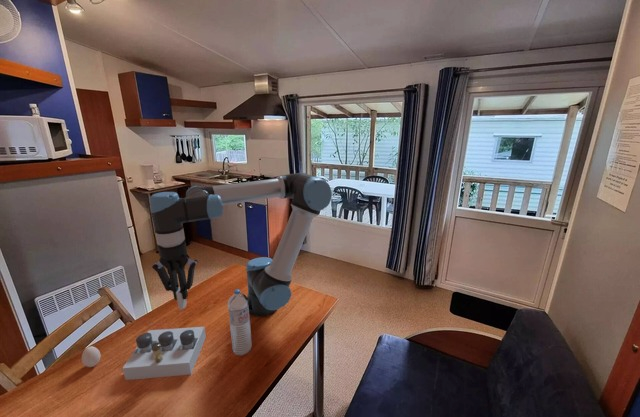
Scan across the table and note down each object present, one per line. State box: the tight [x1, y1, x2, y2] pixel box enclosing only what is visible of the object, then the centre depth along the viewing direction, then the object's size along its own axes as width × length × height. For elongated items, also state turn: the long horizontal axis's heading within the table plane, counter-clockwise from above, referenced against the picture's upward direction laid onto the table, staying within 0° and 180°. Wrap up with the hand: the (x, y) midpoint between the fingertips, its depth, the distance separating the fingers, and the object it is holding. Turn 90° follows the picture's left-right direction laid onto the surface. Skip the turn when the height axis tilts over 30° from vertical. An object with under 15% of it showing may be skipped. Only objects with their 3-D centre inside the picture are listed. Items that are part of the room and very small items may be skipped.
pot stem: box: [151, 342, 163, 363], centre depth 83 cm, size 3×3×6 cm
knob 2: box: [180, 330, 195, 350], centre depth 91 cm, size 4×4×7 cm
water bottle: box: [227, 288, 253, 356], centre depth 92 cm, size 7×7×25 cm
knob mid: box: [158, 331, 174, 351], centre depth 90 cm, size 4×4×7 cm
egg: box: [81, 345, 101, 368], centre depth 87 cm, size 5×5×7 cm
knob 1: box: [135, 332, 153, 353], centre depth 89 cm, size 4×4×7 cm
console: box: [122, 326, 207, 381], centre depth 91 cm, size 20×16×5 cm
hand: (182, 306), depth 86 cm, fingers closed
